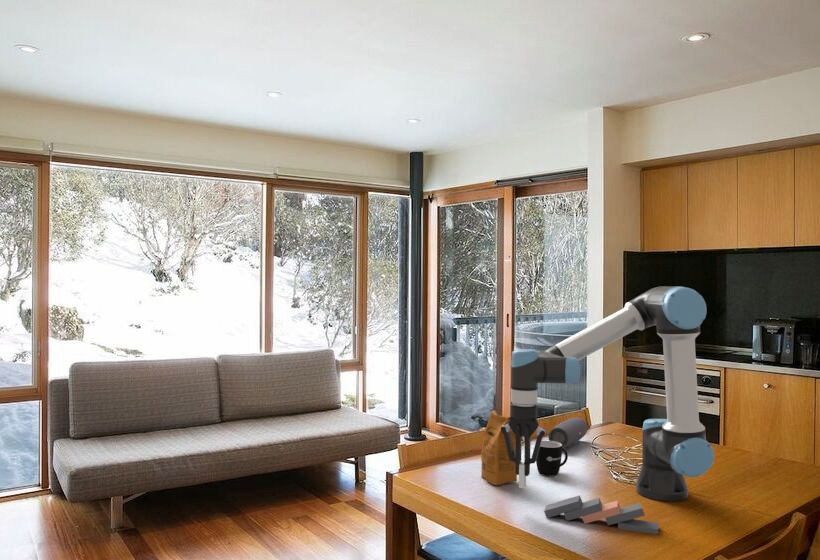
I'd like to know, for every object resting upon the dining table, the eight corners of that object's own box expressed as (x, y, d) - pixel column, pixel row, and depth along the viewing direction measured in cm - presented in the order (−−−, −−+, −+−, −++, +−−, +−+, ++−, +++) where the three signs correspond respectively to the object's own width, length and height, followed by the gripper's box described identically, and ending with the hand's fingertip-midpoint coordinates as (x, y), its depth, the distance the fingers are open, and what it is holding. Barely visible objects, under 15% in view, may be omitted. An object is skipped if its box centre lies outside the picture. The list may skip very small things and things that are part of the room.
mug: (543, 478, 214) (544, 448, 214) (529, 470, 222) (530, 441, 222) (574, 475, 218) (575, 445, 218) (559, 467, 227) (560, 439, 226)
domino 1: (548, 511, 184) (582, 502, 181) (546, 518, 179) (581, 508, 176) (546, 504, 184) (579, 495, 181) (544, 511, 179) (578, 501, 176)
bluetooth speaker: (570, 454, 244) (570, 427, 244) (546, 450, 249) (547, 424, 249) (589, 441, 263) (589, 417, 263) (566, 438, 269) (567, 414, 268)
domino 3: (585, 517, 180) (620, 507, 177) (584, 523, 175) (620, 513, 172) (582, 510, 180) (617, 500, 177) (581, 516, 175) (617, 506, 173)
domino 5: (619, 524, 177) (658, 530, 173) (618, 530, 172) (658, 537, 168) (619, 516, 177) (658, 522, 173) (618, 523, 172) (658, 529, 168)
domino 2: (567, 514, 181) (602, 504, 179) (566, 520, 177) (601, 510, 174) (565, 507, 182) (599, 497, 179) (563, 513, 177) (599, 503, 174)
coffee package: (503, 473, 219) (504, 408, 219) (520, 484, 208) (521, 416, 207) (476, 475, 216) (477, 410, 216) (492, 487, 204) (493, 418, 204)
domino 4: (607, 519, 178) (642, 510, 176) (608, 525, 173) (645, 515, 171) (604, 512, 178) (640, 502, 176) (605, 518, 173) (642, 508, 171)
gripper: (549, 403, 185) (547, 485, 185) (504, 399, 189) (503, 479, 190) (544, 408, 178) (543, 493, 178) (498, 404, 183) (496, 487, 183)
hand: (522, 486), depth 184 cm, fingers closed
